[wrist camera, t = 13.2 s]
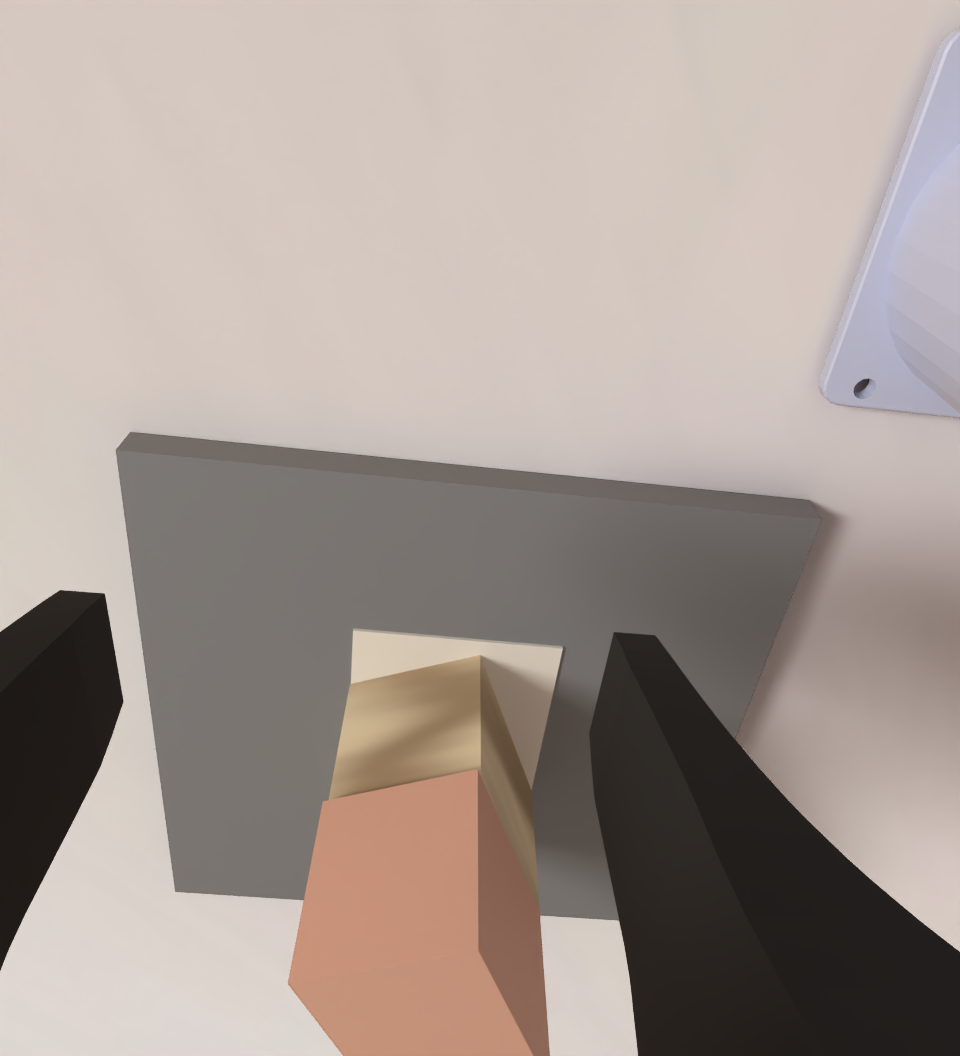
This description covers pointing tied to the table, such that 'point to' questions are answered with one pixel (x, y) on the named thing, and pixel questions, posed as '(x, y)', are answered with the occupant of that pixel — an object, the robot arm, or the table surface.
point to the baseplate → (418, 628)
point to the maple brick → (436, 743)
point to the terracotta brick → (420, 927)
